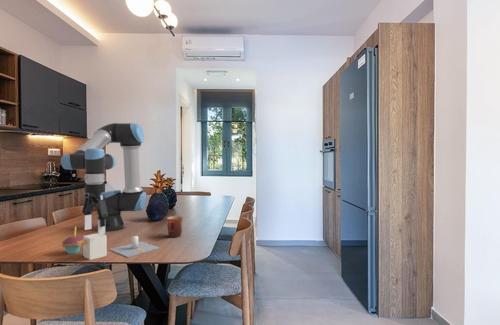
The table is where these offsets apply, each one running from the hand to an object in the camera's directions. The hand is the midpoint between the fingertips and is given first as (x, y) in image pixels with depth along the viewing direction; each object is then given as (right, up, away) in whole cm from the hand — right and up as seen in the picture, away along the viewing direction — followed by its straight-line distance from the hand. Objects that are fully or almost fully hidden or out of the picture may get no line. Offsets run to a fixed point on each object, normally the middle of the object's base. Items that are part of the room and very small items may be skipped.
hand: (94, 231), depth 125 cm
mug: (+26, -11, +32) cm, 43 cm away
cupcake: (-13, -11, +5) cm, 18 cm away
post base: (+14, -11, +10) cm, 20 cm away
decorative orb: (+3, -10, +75) cm, 76 cm away
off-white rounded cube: (-1, -11, -1) cm, 11 cm away
